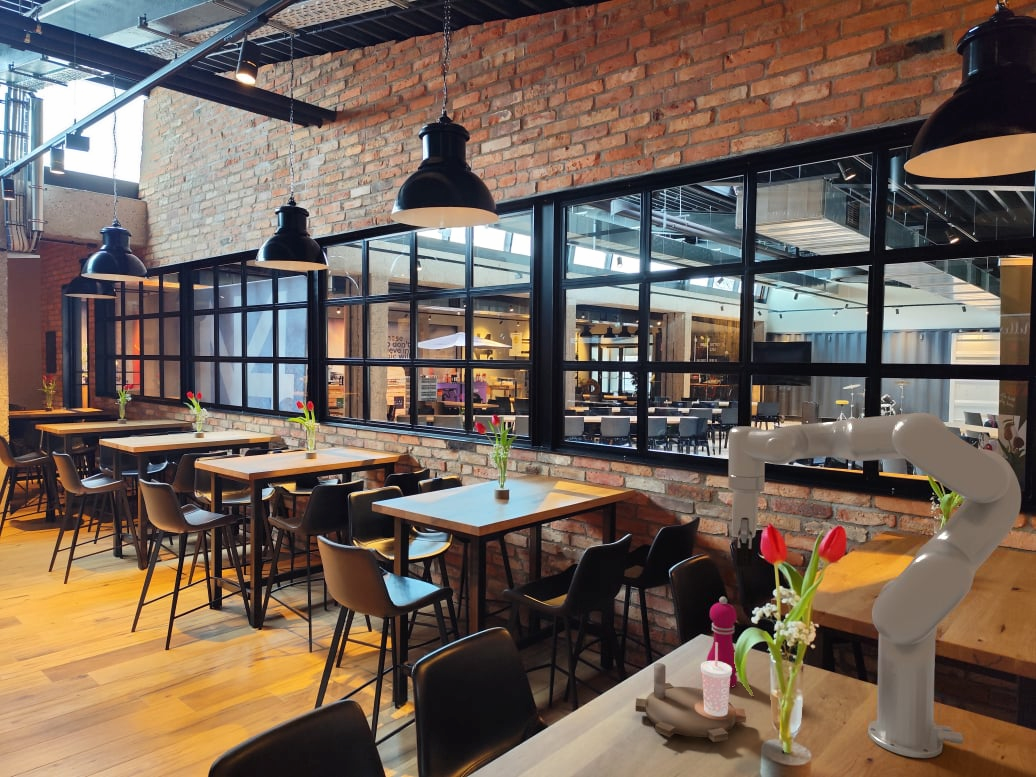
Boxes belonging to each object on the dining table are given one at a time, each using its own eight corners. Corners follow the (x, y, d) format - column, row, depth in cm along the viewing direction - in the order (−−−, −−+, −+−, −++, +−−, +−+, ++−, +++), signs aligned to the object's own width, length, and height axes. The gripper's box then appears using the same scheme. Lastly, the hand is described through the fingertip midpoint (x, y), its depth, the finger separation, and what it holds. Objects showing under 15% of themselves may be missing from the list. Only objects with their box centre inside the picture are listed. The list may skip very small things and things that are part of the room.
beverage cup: (709, 720, 135) (710, 650, 134) (694, 704, 141) (695, 638, 140) (737, 716, 136) (738, 647, 135) (722, 701, 142) (722, 635, 141)
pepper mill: (732, 692, 152) (733, 604, 152) (701, 683, 157) (702, 597, 156) (743, 681, 158) (744, 595, 158) (713, 672, 163) (713, 589, 162)
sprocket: (671, 679, 155) (672, 645, 155) (759, 709, 141) (760, 672, 141) (617, 716, 139) (618, 678, 139) (711, 754, 125) (711, 712, 125)
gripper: (731, 476, 159) (730, 549, 159) (725, 488, 143) (724, 569, 143) (765, 478, 156) (764, 552, 157) (763, 490, 140) (762, 573, 141)
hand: (745, 560), depth 150 cm, fingers open, 9 cm apart
